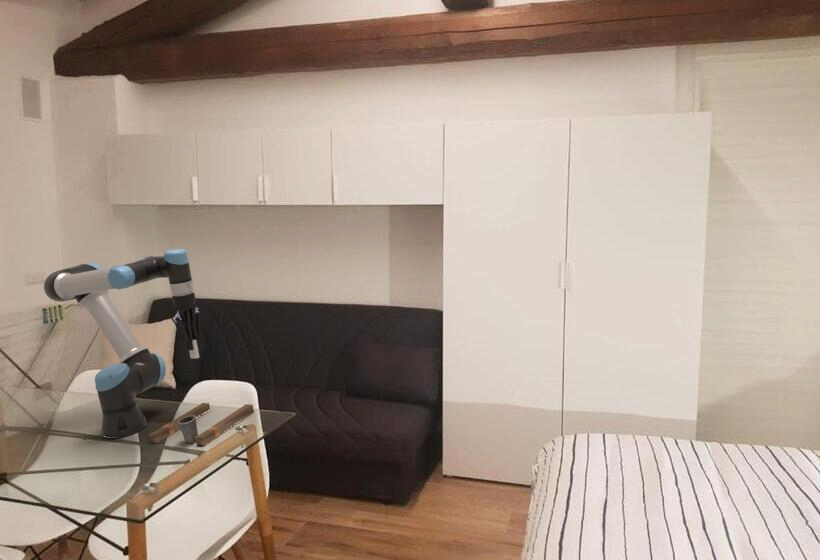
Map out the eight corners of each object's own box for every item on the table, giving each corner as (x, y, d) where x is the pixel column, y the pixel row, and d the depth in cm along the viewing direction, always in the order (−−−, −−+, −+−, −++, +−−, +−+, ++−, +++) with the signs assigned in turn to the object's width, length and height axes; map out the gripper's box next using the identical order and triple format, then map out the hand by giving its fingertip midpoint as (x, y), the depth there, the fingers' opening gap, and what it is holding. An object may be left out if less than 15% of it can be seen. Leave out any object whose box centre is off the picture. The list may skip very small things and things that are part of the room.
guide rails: (151, 442, 225) (149, 434, 224) (204, 410, 249) (202, 402, 248) (204, 446, 215) (202, 437, 215) (254, 412, 240) (252, 404, 239)
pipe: (200, 429, 231) (195, 408, 229) (200, 443, 219) (195, 420, 217) (182, 434, 229) (177, 412, 227) (181, 448, 217) (176, 425, 215)
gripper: (178, 298, 224) (190, 364, 229) (204, 288, 235) (215, 352, 240) (161, 298, 227) (173, 363, 232) (187, 289, 239) (199, 351, 243)
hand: (195, 357), depth 236 cm, fingers closed
